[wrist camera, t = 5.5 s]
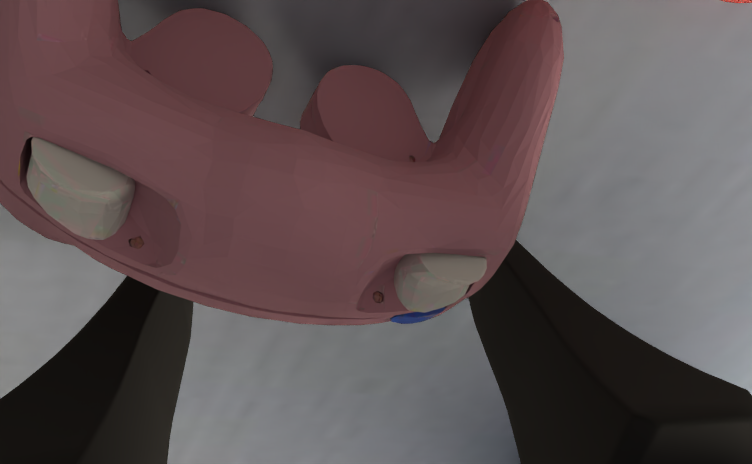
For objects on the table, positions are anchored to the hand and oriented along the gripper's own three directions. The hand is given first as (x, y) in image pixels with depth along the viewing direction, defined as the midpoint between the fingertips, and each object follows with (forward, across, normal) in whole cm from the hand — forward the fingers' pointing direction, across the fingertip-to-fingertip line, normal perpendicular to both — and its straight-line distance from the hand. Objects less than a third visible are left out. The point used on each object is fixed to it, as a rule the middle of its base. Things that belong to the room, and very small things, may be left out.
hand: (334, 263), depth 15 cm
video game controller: (+2, +1, -5) cm, 5 cm away
